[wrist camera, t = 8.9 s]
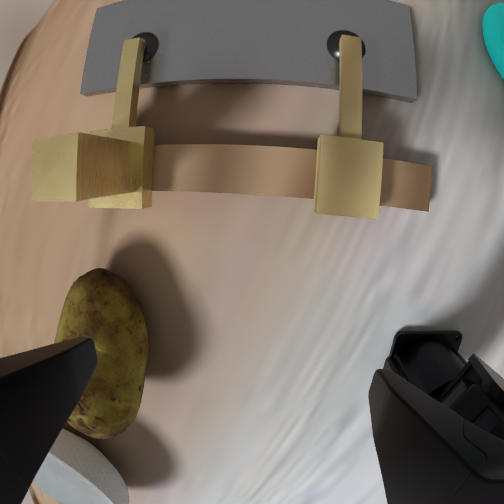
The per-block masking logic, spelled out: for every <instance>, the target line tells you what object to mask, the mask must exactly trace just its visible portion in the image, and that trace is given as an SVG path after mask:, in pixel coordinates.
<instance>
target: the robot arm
mask: <svg viewBox="0 0 504 504" xmlns="http://www.w3.org/2000/svg"><path fill="white" fill-rule="evenodd" d="M457 336H458V337H457ZM400 337H403V338H402V339H401V340H399V338H400ZM456 337H457V338H456ZM455 338H456V339H455ZM461 340H462V334H461V333H460V332H459V331H432V332H398V333H397V334H396V335H395V337H394V340H393V344H392V347H391V351H390V354H389V357H387V359H386V361H385V364H384V368H383V369H377V370H376V371H375V373H374V376H373V380H372V383H371V386H370V389H369V405H370V413H371V422H372V431H373V438H374V443H375V447H376V451H377V455H378V460H379V464H380V469H381V474H382V478H383V483H384V488H385V493H386V498H387V503H388V504H504V379H503V378H502V377H501V376H500V375H499V374H498V373H496V372H495V371H494V370H493V369H492V368H491V367H489V366H488V365H487V364H486V363H485V362H483V361H482V360H481V359H480V358H479V357H477V356H476V355H475V354H474V353H473V354H472V356H471V357H470V358H469V359H468V360H469V361H468V362H466V361H465V360H464V359H463V358H462V356H461V355H460V354H459V353H458V349H459V346H460V343H461ZM97 362H98V359H97V354H96V349H95V344H94V341H93V339H92V338H89V337H85V336H80V337H76V338H73V339H69V340H66V341H62V342H59V343H55V344H51V345H48V346H44V347H41V348H37V349H33V350H29V351H26V352H22V353H18V354H15V355H11V356H7V357H3V358H0V504H21V503H22V501H23V499H24V497H25V495H26V493H27V491H28V489H29V487H30V485H31V484H32V482H33V480H34V478H35V476H36V474H37V472H38V471H39V469H40V467H41V465H42V463H43V462H44V460H45V458H46V456H47V455H48V453H49V451H50V449H51V448H52V446H53V444H54V442H55V441H56V439H57V437H58V436H59V434H60V432H61V430H62V429H63V427H64V425H65V424H66V422H67V420H68V419H69V417H70V415H71V414H72V412H73V411H74V409H75V407H76V406H77V404H78V402H79V401H80V399H81V397H82V395H83V393H84V391H85V389H86V387H87V385H88V383H89V381H90V378H91V376H92V374H93V372H94V370H95V368H96V366H97Z"/></svg>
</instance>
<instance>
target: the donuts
mask: <svg viewBox="0 0 504 504" xmlns="http://www.w3.org/2000/svg"><path fill="white" fill-rule="evenodd" d="M482 31H483V37H484V41H485V45H486V48H487V50H488V53H489V55H490V58H491V60H492V62H493V64H494V65H495V67H496V69H497V71H498V72H499V74H500V75H501V77H502V78H503V80H504V3H496V4H493V5H492V6H490V7H489V8H488V9H487V10H486V12H485V14H484V17H483V23H482Z"/></svg>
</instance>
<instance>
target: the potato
mask: <svg viewBox="0 0 504 504" xmlns="http://www.w3.org/2000/svg"><path fill="white" fill-rule="evenodd" d="M80 336H85V337H89V338H92V339H93V341H94V344H95V349H96V354H97V359H98V362H97V366H96V368H95V370H94V372H93V374H92V376H91V378H90V381H89V383H88V385H87V387H86V389H85V391H84V393H83V395H82V397H81V399H80V401H79V402H78V404H77V406H76V407H75V409H74V411H73V412H72V414H71V415H70V417H69V419H68V420H67V422H68V423H69V424H68V425H69V426H70V427H73V428H75V429H76V430H78V431H80V432H81V433H83V434H85V435H87V436H89V437H92V438H96V439H109V438H112V437H114V436H116V435H117V434H119V433H121V432H123V431H125V430H126V428H127V427H128V426H129V425H130V424H131V423H132V422H133V420H134V419H135V417H136V415H137V413H138V410H139V407H140V403H141V398H142V394H143V388H144V379H145V368H146V364H147V361H148V356H149V343H148V333H147V327H146V322H145V318H144V315H143V312H142V310H141V308H140V306H139V304H138V302H137V300H136V298H135V297H134V295H133V294H132V292H131V290H130V289H129V287H128V286H127V284H126V283H125V281H124V280H123V279H122V278H121V277H120V276H118V275H116V274H115V273H112V272H110V271H108V270H106V269H102V268H97V269H94V270H91V271H89V272H87V273H86V274H84V275H83V276H80V277H79V278H78V279H77V280H76V281H75V282H74V283H73V285H72V286H71V288H70V290H69V292H68V294H67V297H66V299H65V303H64V306H63V309H62V313H61V316H60V321H59V325H58V329H57V334H56V338H55V343H59V342H62V341H66V340H69V339H73V338H76V337H80ZM55 343H54V344H55Z"/></svg>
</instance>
